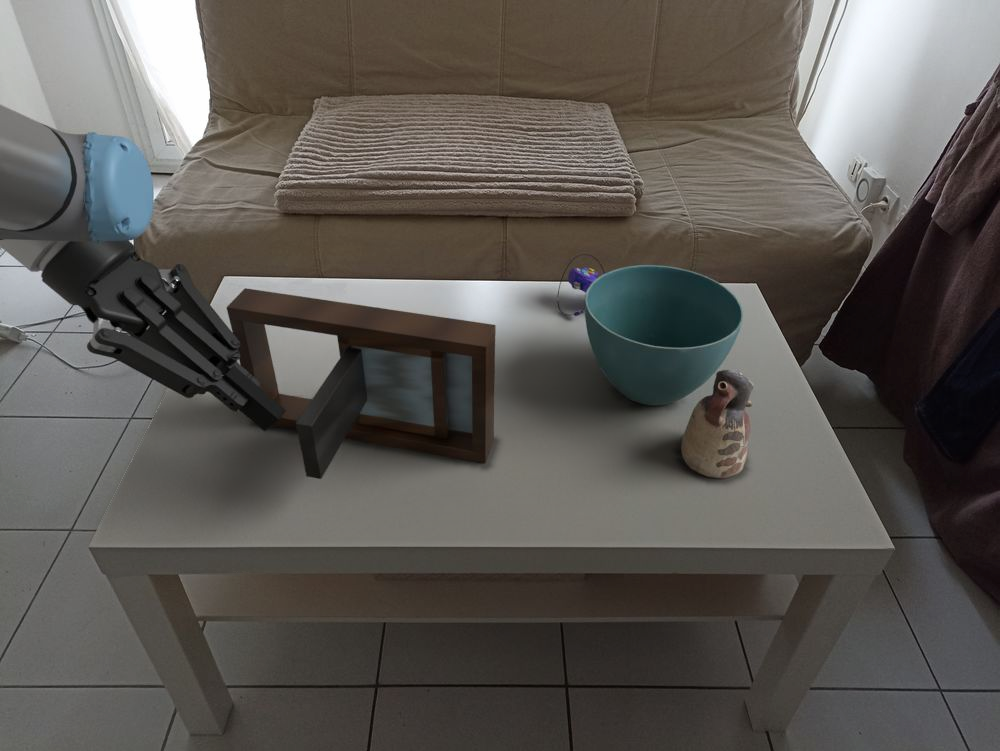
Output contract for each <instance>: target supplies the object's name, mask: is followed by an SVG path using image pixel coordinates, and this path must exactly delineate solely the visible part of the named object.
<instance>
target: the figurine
mask: <svg viewBox="0 0 1000 751" xmlns="http://www.w3.org/2000/svg"><path fill="white" fill-rule="evenodd" d="M754 387H755V386H754V384H753V382H752V381H751V380H749V379H748V378H747V377H746V376H745V375H744V374H743V373H742V372H741V371H740V370H739V371H738V370H736V369H722V370H717V371H716V372H715V379H714V382H713V386H712V394H711V395H706V396H703V397H702V398H701V399H700V400H699V401H698V402H697V404H696V405H695V407H694V408H693V410H692V413H691V416H690V417H689V420H688V421H687V422H688V423H687V425H686V427H685V430H684V433H683V435H682V438H681V445H680V449H681V456H682V458H683V460H684V462H685V464H686V465H687V466H688V467H689V468H690V469H691V470H692V471H694V472H696V473H698V474H699V475H703V476H704V477H705V476H706V477H709V478H713V479H727V478H730V477H734V476H736V475H738V474H739V473H740V472H741V471H742V470H743V469H744V466H745V464H746V462H747V459H748V454H749V441H750V434H751V422H750V417H749V414H748V413H747V412H746V408H750V407H752V406H753V402H752V401H750V397H751V393H752V391H753V389H754Z"/></svg>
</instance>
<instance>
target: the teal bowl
mask: <svg viewBox="0 0 1000 751" xmlns="http://www.w3.org/2000/svg"><path fill="white" fill-rule="evenodd" d="M603 274H604V273H603ZM584 317H585V319H584V320H585V328H586V332H587V336H588V341H589V345H590V347H591V350H592V353H593V356H594V358H595V360H596V362H597V364H598V366H599V368H600V369H601V371H602V373H603V375H605V377H606V378H607V379H608V381H609V382H610V383H611V385H613V387H614V388H615V389H616V390H617V391H618V392H619V393H620V394H621V395H623V396H624V397H625V398H627V399H628V400H630V401H632V402H635V403H637V404H640V405H645V406H652V407H653V406H665V405H670V404H672V403H675V402H678V401H679V400H681V399H684V398H685V397H687V396H688V395H691V394H692V393H693V392H695V391H697V390H698V389H699V388H701V387H702V386H703V385H704V384H705V383H706V382H707V381H709V380H710V379H711V377H713V375H714V374H716V373H717V371H718V370H719V369H720V367H721V366H722V364H723V363H724V361H725V360H726V359H727V357H728V355H729V354H730V352H731V350H732V348H733V346H734V345H735V343H736V340H737V338H738V336H739V333H740V331H741V327H742V324H743V321H744V309H743V306H742V304H741V302H740V301H739V299H738V297H737V296H736V295H735V294H734V293H733V292H732V291H731V290H730V289H728V288H727V287H726V286H725V285H724V284H722V283H720V282H719V281H717V280H715V279H712V278H710V277H708V276H706V275H704V274H701V273H698V272H695V271H692V270H689V269H683V268H680V267H674V266H669V265H668V266H667V265H656V264H640V265H639V264H638V265H632V266H625V267H619V268H616V269H613V270H611V271H608V272H606V273H605V274H604V275H602V276H601V275H600V276H597V279H596V280H595V281H593V282H592V284H591V285H590V286H589V288H588V290H587V292H586V293H585V295H584Z"/></svg>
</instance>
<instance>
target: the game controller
mask: <svg viewBox="0 0 1000 751" xmlns="http://www.w3.org/2000/svg"><path fill="white" fill-rule="evenodd" d="M580 256H589V257H592V258H593V259H595V260H596V261H597V263H598V264H599V265H600V267H601V269H602V271H603V273H602V274H600V276H602V275H604V274H606V273H605V270H604V267H603V265H602V263H601V262H600V261H599V260H598V259H597V258H596V257H594V256H593V255H591V254H587V253H583V254H578V255H576V256H575V257H574V258H573V259H572V260H570V262H569V263H568V264H567V266H566V268H565V269H564V272H563V274H562V276H561V278H560V282H559V285H558V289H557V290H558V291H557V296H559V294H560V289H561V284H562V281H563V278H564V275H565V273H566V271H567V270H568V267H569V266H570V265H571V263H572V262H573V261H574V260H575V259H577V258H578V257H580ZM598 275H599V273H598V272H597V271H596V270H595V269H593V268H590V267H583V268H580V267H575V268H572V269H570V271H569V273H568V276H567V281H568V283H569V284H570V286H571V288H572V289H573V290H578V291H581V292H584V293H585V294H586V292H587V290H588V288H589V286H590V285H591V284H592V282H593V281H595V280H596V279H597V278H598V277H599V276H598ZM557 307H558V310H559V312H560V313H561V314H562V315H564V316H568V317H569V316H570V317H571V316H574V317H579V316H580V315H581V316H582V315H583V314H584V310H583V309H582V310H577V311H574V312H573V314H566V313H564V312H563V311H562V310H561V308H560V304H559V302H557Z"/></svg>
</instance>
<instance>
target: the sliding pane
mask: <svg viewBox="0 0 1000 751" xmlns="http://www.w3.org/2000/svg"><path fill="white" fill-rule="evenodd" d="M336 338H337V345H338V352H339V357H340V358H339V359H338V360H337V362H336V364H335V365H334V367H333V368H332V369H331V371H330V372H329V373H328V375H327V377H326V378H325V380H323V383H322V384H321V385H320V387H319V388H318V390H317V391H316V393H315V395H314V396H313V397H312V398H311V399H312V400H311V402H310V403H309V405H308V406H307V408H306V409H305V411H304V412H303V414H302V415H301V417H300V418H299V419H298V421H297V422H296V427H297V430H296V431H297V437H298V442H299V446H300V451H301V457H302V462H303V466H304V471H305V472H304V473H305V476H306V477H307V478H313V479H318V480H322V478H323V476H324V475H325V473H326V472H327V470H328V468H329V467H330V465H331V464H332V461H333V460H334V459H335V456H336V454H337V453H338V451H339V450H340V448H341V446H342V444H343V442H344V441H345V439H346V436H347V434H348V432H349V431H350V429H351V427H352V426H353V424H354V422H355V423H360V424H366V425H372V426H377V427H383V428H389V429H395V430H400V431H406V432H412V433H417V434H423V435H429V436H435V437H439V438H445V439H447V436H448V434H449V430H448V400H447V370H446V352H439V351H433V350H426V349H420V348H414V347H407V346H401V345H394V344H388V343H381V342H375V341H368V340H362V339H355V338H349V337H342V336H336Z"/></svg>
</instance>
